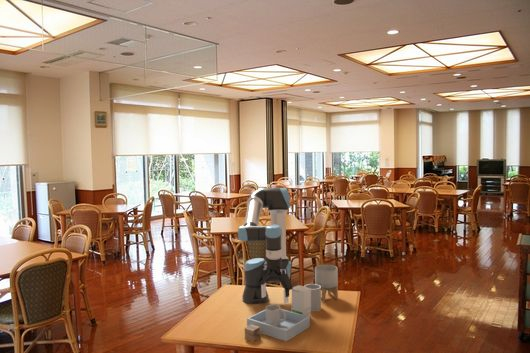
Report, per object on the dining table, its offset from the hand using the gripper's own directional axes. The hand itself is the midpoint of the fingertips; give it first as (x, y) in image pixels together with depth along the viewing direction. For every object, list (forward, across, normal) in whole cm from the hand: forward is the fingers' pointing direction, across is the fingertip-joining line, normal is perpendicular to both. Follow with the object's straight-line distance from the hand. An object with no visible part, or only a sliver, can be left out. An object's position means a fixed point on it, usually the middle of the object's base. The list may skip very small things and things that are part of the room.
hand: (274, 300), depth 211 cm
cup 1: (+13, +1, 0) cm, 13 cm away
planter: (+14, 0, +48) cm, 50 cm away
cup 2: (+14, +2, +30) cm, 34 cm away
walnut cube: (+13, -1, -17) cm, 21 cm away
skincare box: (+14, +4, +16) cm, 22 cm away
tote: (+13, +2, -1) cm, 13 cm away
